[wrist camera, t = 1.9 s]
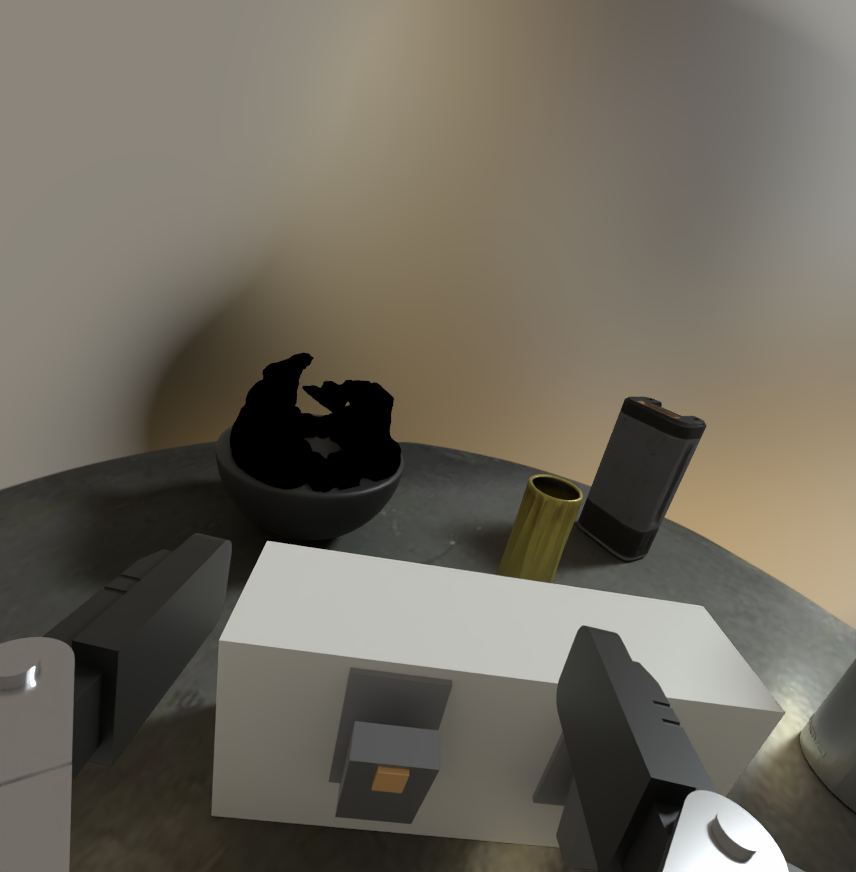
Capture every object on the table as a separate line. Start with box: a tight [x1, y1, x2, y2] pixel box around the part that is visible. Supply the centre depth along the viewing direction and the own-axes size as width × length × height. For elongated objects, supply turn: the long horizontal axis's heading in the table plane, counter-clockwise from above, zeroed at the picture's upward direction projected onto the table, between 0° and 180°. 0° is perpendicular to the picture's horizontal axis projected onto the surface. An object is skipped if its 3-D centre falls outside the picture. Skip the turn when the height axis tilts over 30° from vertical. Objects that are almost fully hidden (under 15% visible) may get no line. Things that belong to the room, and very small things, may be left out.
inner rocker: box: [556, 775, 598, 870], centre depth 24 cm, size 2×4×7 cm, turn 91°
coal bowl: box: [216, 353, 404, 541], centre depth 52 cm, size 20×20×19 cm
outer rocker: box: [335, 721, 440, 824], centre depth 23 cm, size 2×4×7 cm, turn 92°
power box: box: [211, 541, 785, 848], centre depth 30 cm, size 8×30×14 cm, turn 92°
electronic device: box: [578, 397, 706, 561], centre depth 63 cm, size 9×6×20 cm, turn 31°
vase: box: [496, 474, 583, 584], centre depth 48 cm, size 6×6×14 cm
